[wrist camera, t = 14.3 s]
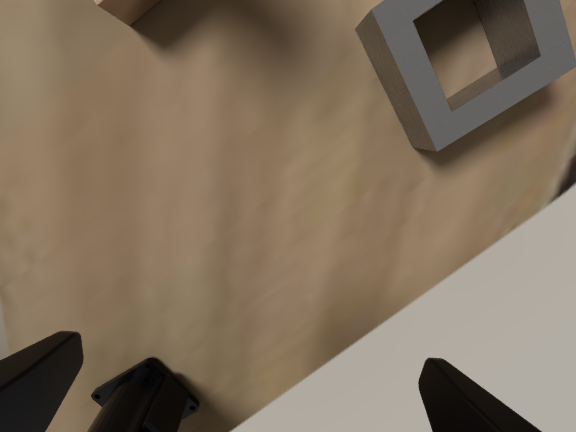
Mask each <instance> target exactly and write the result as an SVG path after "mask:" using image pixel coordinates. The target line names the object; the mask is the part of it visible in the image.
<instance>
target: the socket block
mask: <svg viewBox="0 0 576 432" xmlns="http://www.w3.org/2000/svg"><path fill="white" fill-rule="evenodd" d="M443 1H444V0H384V1H382V2H381V3H380V4H378V5H377V6H375V7H374V8H373V9H371V10H370V12H369V13H368V14H367V15H366V16H365V18H364V19H363V20H362V21H361V22H360V24H359V25H358V26H357V27H356V28H355V30H356V32H357V34H358V36H359V38H360V40H361V42H362V44H363V46H364V48H365V50H366V52H367V54H368V56H369V58H370V61H371V63H372V65H373V67H374V69H375V71H376V73H377V75H378V77H379V79H380V81H381V83H382V85H383V87H384V89H385V91H386V93H387V95H388V97H389V99H390V102H391V104H392V106H393V108H394V110H395V112H396V114H397V116H398V118H399V120H400V122H401V124H402V126H403V128H404V130H405V132H406V134H407V136H408V138H409V140H410V142H411V145H412V147H414V148H419V149H425V150H430V151H436V152H438V151H439V150H441V149H442V148H444V147H446V146H447V145H449V144H451V143H452V142H454V141H456V140H457V139H459V138H460V137H462V136H464V135H465V134H467V133H469V132H470V131H472V130H474V129H475V128H477V127H478V126H480V125H482V124H483V123H485V122H487V121H488V120H490V119H492V118H493V117H495V116H496V115H498V114H500V113H501V112H503V111H505V110H506V109H508V108H510V107H511V106H513V105H514V104H516V103H518V102H519V101H521V100H523V99H524V98H526V97H528V96H529V95H531V94H533V93H534V92H536V91H537V90H539V89H541V88H542V87H544V86H546V85H547V84H549V83H551V82H552V81H554V80H555V79H557V78H559V77H560V76H562V75H564V74H565V73H567V72H569V71H570V70H572V69H573V68H575V67H576V59H575V56H574V52H573V48H572V45H571V41H570V37H569V34H568V30H567V27H566V23H565V19H564V16H563V12H562V8H561V5H560V1H559V0H474V1H475V4H476V7H477V10H478V12H479V15H480V18H481V21H482V24H483V26H484V29H485V32H486V35H487V38H488V40H489V43H490V46H491V49H492V52H493V54H494V57H495V60H496V63H497V66H498V67H497V68H496V69H494V70H493V71H491V72H489V73H488V74H486V75H485V76H483V77H482V78H480V79H478V80H477V81H475V82H474V83H472V84H471V85H469V86H467V87H466V88H464V89H463V90H461V91H460V92H458V93H456V94H455V95H453V96H452V97H450V98H449V99H447V100H446V98H445V96H444V93H443V91H442V89H441V86H440V84H439V82H438V79H437V77H436V74H435V72H434V70H433V67H432V65H431V63H430V60H429V58H428V56H427V53H426V51H425V49H424V46H423V44H422V42H421V39H420V37H419V35H418V32H417V30H416V28H415V25H414V23H413V22H414V21H415V20H416V19H418V18H419V17H421V16H422V15H424V14H425V13H427V12H428V11H430V10H431V9H432V8H434V7H435V6H437V5H438V4H440V3H441V2H443Z"/></svg>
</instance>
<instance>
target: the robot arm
mask: <svg viewBox="0 0 576 432" xmlns="http://www.w3.org/2000/svg"><path fill="white" fill-rule="evenodd" d="M82 364H83V348H82V340H81V335H80V334H79V333H78V332H73V331H59V332H57V333H55V334H53V335H51V336H49V337H47V338H45V339H43V340H41V341H39V342H37V343H35V344H33V345H31V346H29V347H27V348H24V349H22V350H20V351H18V352H16V353H14V354H12V355H10V356H8V357H6V358H4V359H2V360H0V432H45V431H46V429H47V428H48V426H49V424H50V423H51V421H52V419H53V417H54V415H55V414H56V412H57V410H58V408H59V406H60V405H61V403H62V401H63V399H64V398H65V396H66V394H67V392H68V390H69V389H70V387H71V385H72V383H73V381H74V380H75V378H76V376H77V374H78V373H79V371H80V369H81V367H82ZM149 364H150V365H149ZM418 384H419V391H420V394H421V397H422V400H423V403H424V406H425V409H426V412H427V416H428V418H429V422H430V425H431V428H432V431H433V432H542V431H540V430H539V429H537V428H536V427H535V426H533V425H532V424H531V423H529V422H528V421H527V420H525V419H524V418H523V417H521V416H520V415H519V414H517V413H516V412H515V411H513V410H512V409H510V408H509V407H508V406H506V405H505V404H504V403H502V402H501V401H500V400H498V399H497V398H496V397H494V396H493V395H492V394H490V393H489V392H487V391H486V390H485V389H483V388H482V387H481V386H479V385H478V384H477V383H475V382H474V381H472V380H471V379H470V378H469V377H467V376H466V375H465V374H463V373H462V372H460V371H459V370H458V369H457V368H455V367H454V366H452V365H451V364H450V363H448V362H447V361H446V360H444V359H440V358H428V359H427V360H426V361H425V364H424V366H423V370H422V372H421V375H420V378H419V383H418ZM91 397H92V399H93V400H94V401H96V402H97V403H98V404H99V405H100V406H102V409H101V410H100V412H99V414H98V415H97V417H96V418H95V420H94V422H93V423H92V425H91V427H90V428H89V430H88V431H87V432H178V429H179V426H180V422H181V420H182V419H183V418H185V417H187V416H189V415H191V414H193V413H194V412H196V411H197V410H198V408H199V405H200V404H199V401H198V400H197V399H196V398H195V397H194V396H192V395H191V394H190V393H189V392H188V391H187V390H186V389H185V388H184V387H183V386H182V385H181V384H180V383H179V382H178V381H177V380H176V379H175V378H174V377H173V376H172V375H171V374H170V373H169V372H168V371H167V370H166V369H165V368H164V367H162V366H161V365H160V364H159V363H158V362H157V361H156V360H155V359H154V358H147V359H145V360H144V361H142V362H140V363H138V364H137V365H135V366H133V367H132V368H130V369H128V370H127V371H125V372H123V373H122V374H120V375H118V376H117V377H115V378H113V379H111V380H110V381H108V382H106V383H105V384H103V385H101V386H100V387H98V388H96V389H95V390H94V392H93V393H92V395H91Z"/></svg>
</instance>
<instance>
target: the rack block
mask: <svg viewBox="0 0 576 432" xmlns="http://www.w3.org/2000/svg"><path fill="white" fill-rule="evenodd" d="M94 1H95V2H96V4H97V5H98V6H100V7H101V8H103V9H104V10H106V11H107V12H109V13H110V14H112V15H113V16H115V17H116V18H118V19H119V20H121V21H122V22H124V23H125V24H127V25H128V26H130V25H131V24H132V23H133V22H135V21H136V20H137V19H138V18H140V17H141V16H142V15H143V14H145V13H146V12H147V11H148V10H149V9H151V8H152V7H153V6H154V5H156V4H157V3H158V2H159V1H161V0H94Z"/></svg>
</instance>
